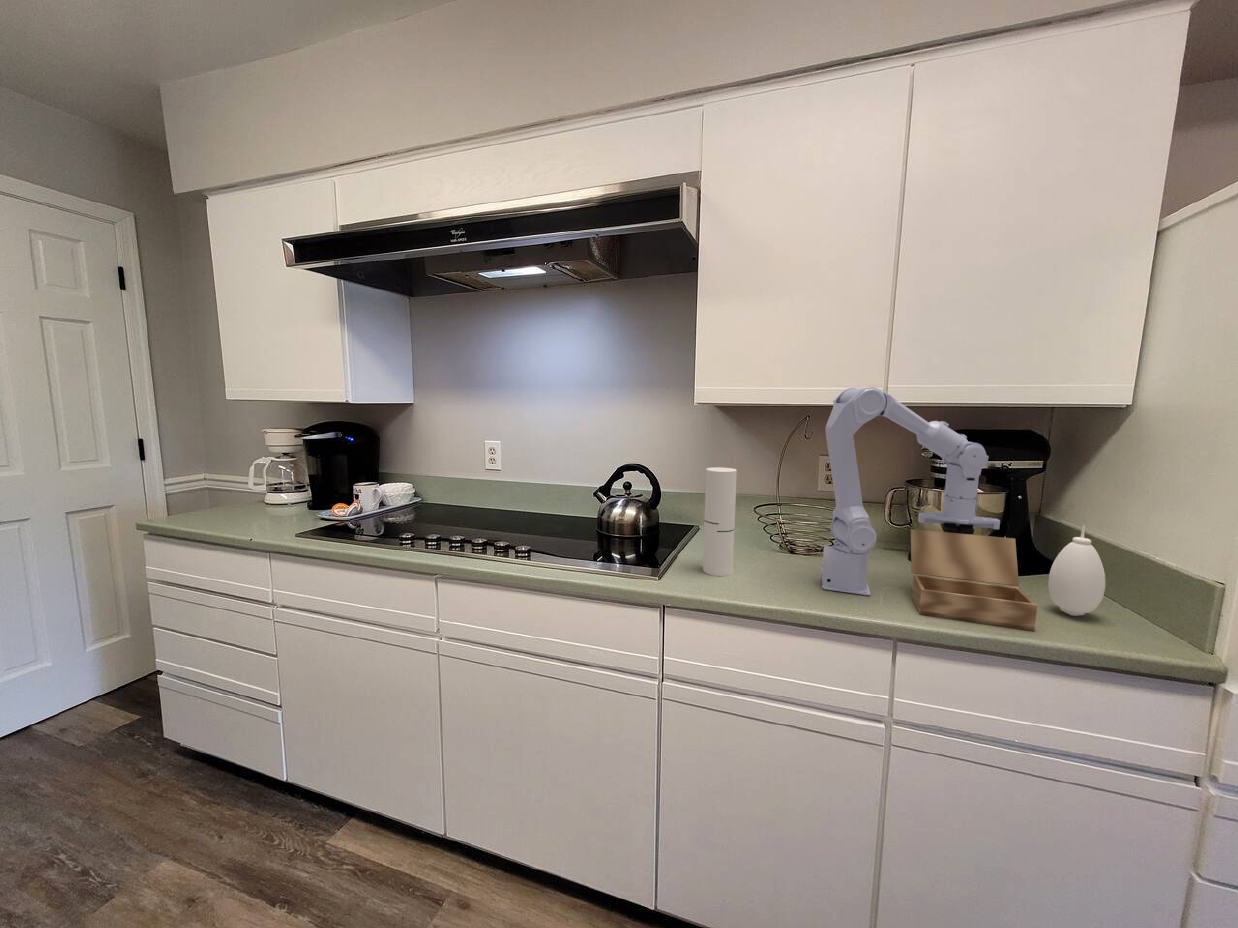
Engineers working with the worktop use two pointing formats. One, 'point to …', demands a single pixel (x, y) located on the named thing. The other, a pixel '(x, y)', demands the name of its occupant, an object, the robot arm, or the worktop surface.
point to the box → (974, 602)
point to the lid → (964, 557)
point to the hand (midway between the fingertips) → (953, 557)
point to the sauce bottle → (1077, 577)
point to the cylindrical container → (719, 521)
